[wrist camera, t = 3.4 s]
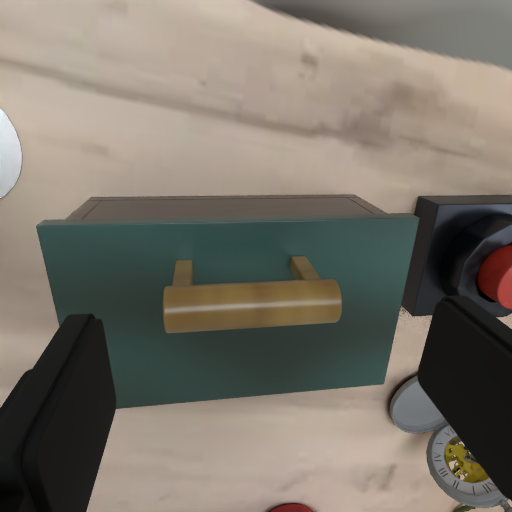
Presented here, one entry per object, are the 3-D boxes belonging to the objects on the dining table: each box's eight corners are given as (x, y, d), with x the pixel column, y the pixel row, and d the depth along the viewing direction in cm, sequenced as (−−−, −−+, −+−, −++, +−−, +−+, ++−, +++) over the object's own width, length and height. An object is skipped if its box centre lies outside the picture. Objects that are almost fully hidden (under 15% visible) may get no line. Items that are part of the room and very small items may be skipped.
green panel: (43, 219, 14) (-30, 273, 10) (410, 212, 17) (490, 253, 12) (84, 400, 18) (44, 499, 14) (377, 374, 20) (428, 452, 16)
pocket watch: (409, 360, 29) (504, 477, 20) (487, 376, 31) (605, 489, 22) (366, 431, 32) (433, 563, 23) (440, 442, 34) (529, 566, 25)
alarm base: (396, 300, 26) (427, 332, 23) (418, 195, 23) (458, 212, 20) (502, 294, 28) (548, 323, 24) (537, 194, 25) (595, 210, 21)
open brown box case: (90, 197, 20) (47, 233, 15) (354, 194, 23) (407, 224, 17) (112, 328, 24) (84, 399, 18) (338, 315, 26) (377, 374, 20)
